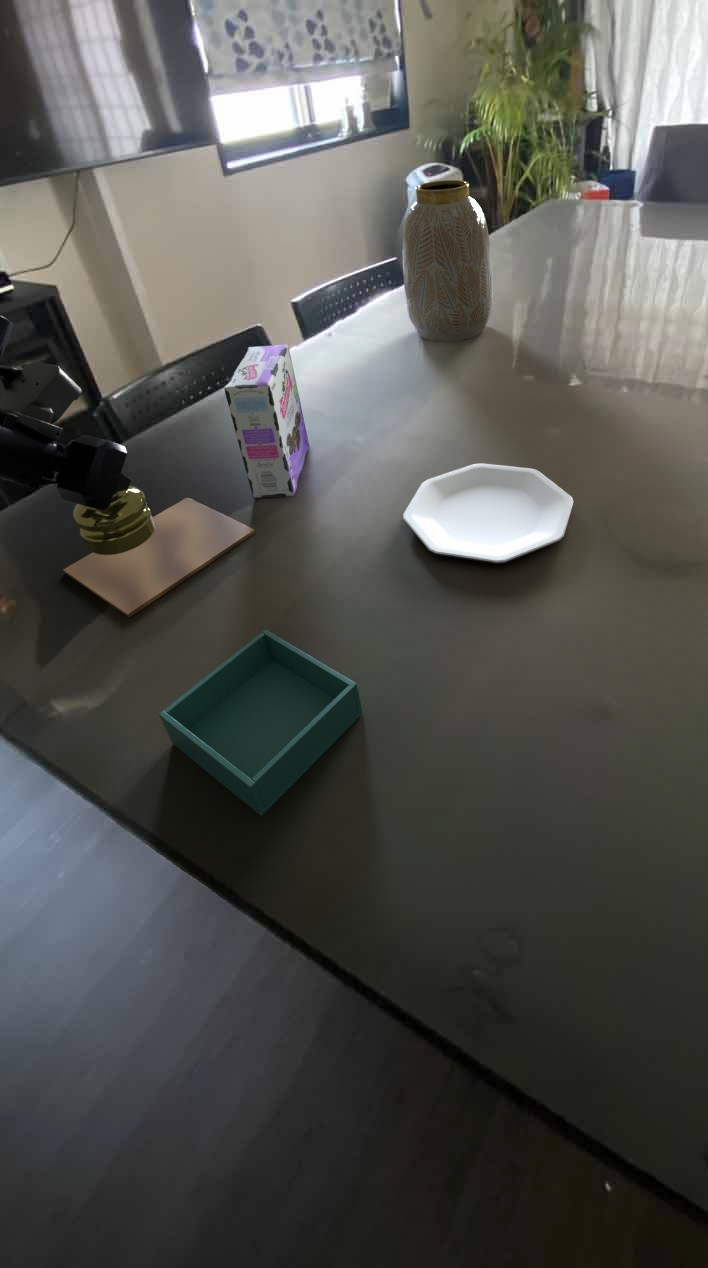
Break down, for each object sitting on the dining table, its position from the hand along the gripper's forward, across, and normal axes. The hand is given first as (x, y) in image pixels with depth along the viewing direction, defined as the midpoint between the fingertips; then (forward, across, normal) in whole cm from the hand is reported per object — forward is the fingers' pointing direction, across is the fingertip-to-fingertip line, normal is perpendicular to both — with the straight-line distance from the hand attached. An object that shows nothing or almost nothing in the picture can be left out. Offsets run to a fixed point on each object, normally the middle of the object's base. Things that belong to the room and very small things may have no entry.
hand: (112, 480), depth 73 cm
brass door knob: (+4, 0, +6) cm, 7 cm away
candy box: (+27, -1, -8) cm, 28 cm away
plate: (+27, -32, -8) cm, 43 cm away
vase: (+67, 0, -49) cm, 83 cm away
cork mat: (+12, +2, +7) cm, 14 cm away
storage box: (+1, -27, +18) cm, 32 cm away
